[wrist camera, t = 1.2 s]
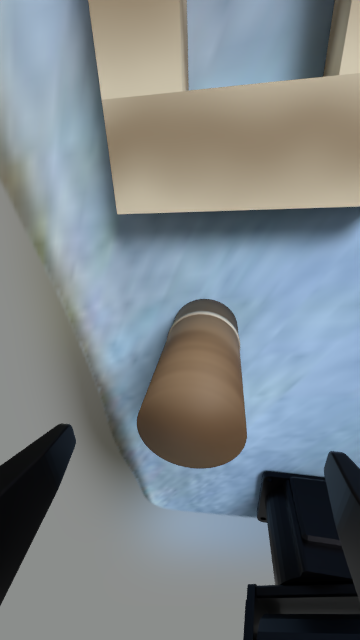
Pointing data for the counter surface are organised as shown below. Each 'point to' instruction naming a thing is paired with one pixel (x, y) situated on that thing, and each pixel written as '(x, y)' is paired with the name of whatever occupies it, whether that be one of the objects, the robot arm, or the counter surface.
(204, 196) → the board
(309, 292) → the counter surface
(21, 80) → the counter surface
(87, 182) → the counter surface
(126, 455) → the counter surface
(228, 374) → the peg
